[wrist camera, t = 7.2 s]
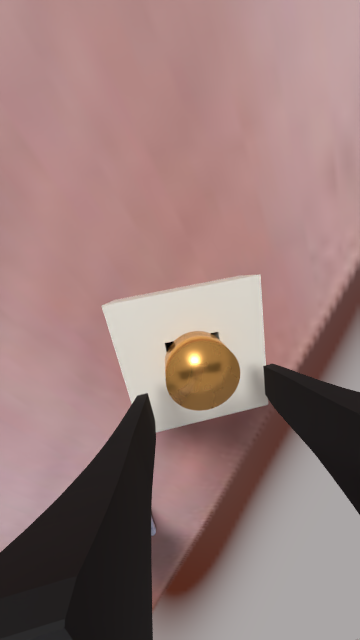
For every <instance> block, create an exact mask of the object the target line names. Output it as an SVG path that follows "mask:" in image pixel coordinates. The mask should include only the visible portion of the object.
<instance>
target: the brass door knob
mask: <svg viewBox="0 0 360 640" xmlns="http://www.w3.org/2000/svg"><path fill="white" fill-rule="evenodd" d="M165 377H166V387H167V390H168V393H169V395H170V396H171V398H172V399H173V400H174V401H175V402H176V403H177V404H179V405H180V406H182V407H184V408H186V409H190V410H196V411H202V410H209V409H212V408H215V407H217V406H219V405H221V404H223V403H224V402H225V401H227V400H228V399H229V398H230V397H231V396H232V395H233V393H234V392H235V390H236V388H237V386H238V384H239V380H240V366H239V363H238V360H237V358H236V357H235V355H234V354H233V353H232V352H231V351H230V350H229V349H228V348H227V347H226V346H225V345H224V344H223V343H222V342H221V341H220V340H219V339H218V338H217V337H216V336H214V335H213V334H211V333H208V332H204V331H193V332H188V333H186V334H183V335H181V336H180V337H178V338H177V339H176V340H175V341H174V342H173V343H172V344H171V345H170V347H169V348H168V350H167V353H166V356H165Z"/></svg>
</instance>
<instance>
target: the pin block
mask: <svg viewBox="0 0 360 640" xmlns="http://www.w3.org/2000/svg"><path fill="white" fill-rule="evenodd" d="M102 309H103V312H104V315H105V319H106V322H107V325H108V328H109V332H110V335H111V338H112V341H113V345H114V348H115V351H116V354H117V358H118V361H119V364H120V367H121V371H122V374H123V377H124V381H125V384H126V387H127V390H128V394H129V397H130V400H131V403H133V402H134V400H135V398H136V397H137V395H141V394H145V393H148V396H149V399H150V403H151V407H152V410H153V414H154V418H155V426H156V432H160V431H164V430H168V429H172V428H176V427H180V426H184V425H188V424H192V423H196V422H200V421H204V420H208V419H212V418H216V417H221V416H225V415H229V414H233V413H237V412H241V411H245V410H249V409H253V408H257V407H261V406H265V405H268V398H267V396H266V395H265V385H264V369H263V366H266V360H265V343H264V326H263V310H262V293H261V276H260V275H242V276H235V277H230V278H225V279H220V280H214V281H209V282H204V283H199V284H194V285H189V286H184V287H179V288H173V289H168V290H163V291H158V292H153V293H148V294H143V295H137V296H132V297H127V298H122V299H117V300H113V301H111V302H109V303H107V304H104V305H102ZM193 331H204V332H208V333H211V334H213V335H214V336H216V337H217V338H218V339H219V340H220V341H221V342H222V343H223V344H224V345H225V346H226V347H227V348H228V349H229V350H230V351H231V352H232V353H233V354H234V355H235V357H236V358H237V360H238V363H239V366H240V380H239V384H238V386H237V388H236V390H235V392H234V393H233V395H232V396H231V397H230V398H229V399H228V400H227V401H225V402H224V403H223V404H221V405H219V406H217V407H215V408H212V409H209V410H202V411H196V410H190V409H186V408H184V407H182V406H180V405H179V404H177V403H176V402H175V401H174V400H173V399H172V398H171V396H170V395H169V393H168V390H167V387H166V377H165V356H166V353H167V350H168V347H167V343H168V342H172V341H175V340H176V339H177V338H178V337H180V336H181V335H183V334H186V333H188V332H193Z"/></svg>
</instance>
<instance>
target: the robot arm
mask: <svg viewBox="0 0 360 640" xmlns="http://www.w3.org/2000/svg"><path fill="white" fill-rule="evenodd" d="M263 369H264V385H265V395H266V396H267V398H268V399H269V401H270V402H271V404H272V405H273V406H274V408H275V409H276V410H277V411H278V413H279V414H280V415H281V416H282V417H283V418H284V420H285V421H286V422H287V423H288V424H289V425H290V426H291V427H292V429H293V430H294V431H295V432H296V433H297V434H298V435H299V436H300V437H301V439H302V440H303V441H304V442H305V443H306V444H307V445H308V446H309V448H310V449H311V450H312V451H313V453H315V455H316V456H317V457H318V459H319V460H320V461H321V463H322V464H323V465H324V467H325V468H326V469H327V471H328V472H329V473H330V474H331V476H332V477H333V478H334V480H335V481H336V483H337V484H338V485H339V486H340V488H341V489H342V491H343V492H344V493H345V495H346V496H347V498H348V499H349V500H350V502H351V503H352V504H353V506H354V507H355V509H356V510H357V512H358V513H359V514H360V392H356V391H353V390H349V389H345V388H342V387H339V386H336V385H333V384H329V383H326V382H323V381H320V380H317V379H314V378H312V377H308V376H306V375H303V374H300V373H298V372H295V371H292V370H290V369H287V368H284V367H281V366H278V365H275V364H270V365H266V366H263ZM155 445H156V426H155V418H154V414H153V410H152V407H151V403H150V399H149V396H148V393H145V394H141V395H137V397H136V398H135V400H134V402H133V403H132V405H131V407H130V408H129V410H128V411H127V413H126V415H125V416H124V418H123V419H122V421H121V422H120V424H119V425H118V427H117V428H116V430H115V431H114V433H113V434H112V435H111V437H110V438H109V440H108V441H107V442H106V444H105V445H104V446H103V448H102V449H101V450H100V452H99V453H98V454H97V455H96V457H95V458H94V459H93V460H92V461H91V463H90V464H89V465H88V466H87V467H86V468H85V470H84V471H83V472H82V473H81V474H80V475H79V476H78V477H77V478H76V479H75V480H74V482H73V483H72V484H71V485H70V486H69V487H68V488H67V489H66V490H65V491H64V492H63V493H62V495H61V496H60V497H59V498H58V499H57V500H56V501H55V502H54V503H53V504H52V505H51V506H50V507H49V508H48V509H47V510H46V511H45V512H44V513H42V514H41V515H40V516H39V517H38V518H37V519H36V520H35V521H34V522H33V523H32V524H31V525H30V526H29V527H28V528H27V529H26V530H25V531H24V532H23V533H21V534H20V535H19V536H18V537H17V538H16V539H15V540H14V541H13V542H11V543H10V544H9V545H8V546H7V547H6V548H5V549H4V550H3V551H1V552H0V640H153V636H152V635H153V634H152V633H153V632H152V576H151V536H153V535H155V533H156V528H155V525H154V522H153V519H152V516H151V499H152V483H153V470H154V458H155ZM357 640H360V639H357Z"/></svg>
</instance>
